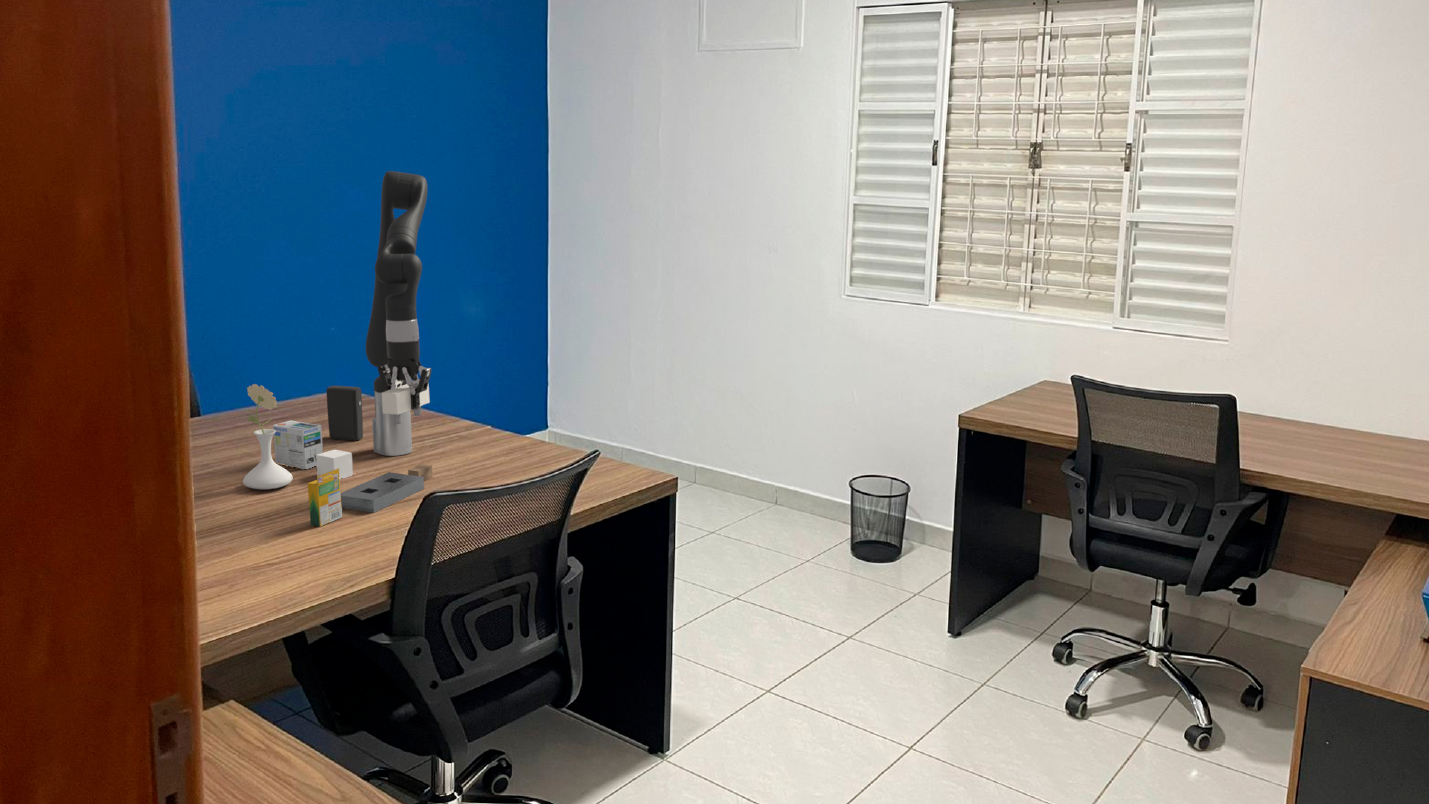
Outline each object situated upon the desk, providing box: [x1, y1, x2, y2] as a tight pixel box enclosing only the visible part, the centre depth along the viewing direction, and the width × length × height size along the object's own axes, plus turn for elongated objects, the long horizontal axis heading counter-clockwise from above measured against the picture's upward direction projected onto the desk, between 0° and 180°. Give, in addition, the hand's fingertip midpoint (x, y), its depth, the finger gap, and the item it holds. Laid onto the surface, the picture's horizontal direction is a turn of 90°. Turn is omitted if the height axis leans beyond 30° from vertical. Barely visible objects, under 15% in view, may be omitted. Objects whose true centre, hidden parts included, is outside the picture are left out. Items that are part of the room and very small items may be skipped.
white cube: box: [316, 449, 354, 480], centre depth 288 cm, size 6×6×6 cm
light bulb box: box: [272, 419, 324, 470], centre depth 297 cm, size 11×7×11 cm, turn 65°
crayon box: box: [307, 468, 343, 528], centre depth 254 cm, size 7×3×12 cm, turn 157°
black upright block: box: [326, 385, 364, 441], centre depth 322 cm, size 9×4×15 cm, turn 80°
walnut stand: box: [407, 463, 433, 482], centre depth 287 cm, size 6×3×3 cm, turn 160°
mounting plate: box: [341, 472, 425, 514], centre depth 272 cm, size 20×10×3 cm, turn 160°
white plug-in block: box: [382, 378, 430, 424], centre depth 276 cm, size 14×4×9 cm, turn 162°
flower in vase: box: [242, 383, 294, 490], centre depth 277 cm, size 13×11×25 cm
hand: (406, 408), depth 277 cm, fingers closed on white plug-in block, 4 cm apart
